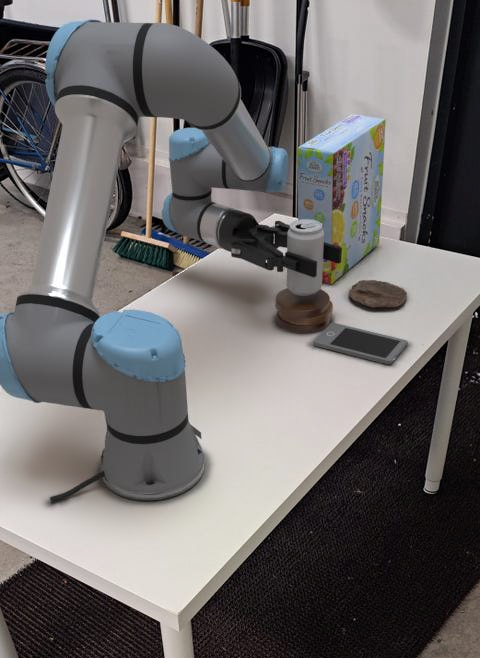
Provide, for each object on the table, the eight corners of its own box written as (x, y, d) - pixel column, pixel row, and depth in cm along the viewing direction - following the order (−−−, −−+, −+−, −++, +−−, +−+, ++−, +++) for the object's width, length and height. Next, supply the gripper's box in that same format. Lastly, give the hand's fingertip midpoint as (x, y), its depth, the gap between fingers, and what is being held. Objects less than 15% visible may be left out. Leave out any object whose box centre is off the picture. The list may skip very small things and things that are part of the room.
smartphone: (408, 344, 152) (409, 340, 151) (390, 365, 146) (391, 361, 146) (332, 325, 158) (332, 321, 157) (312, 345, 152) (312, 341, 152)
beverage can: (281, 285, 157) (282, 220, 149) (314, 279, 158) (316, 215, 150) (293, 300, 153) (294, 234, 145) (327, 294, 154) (330, 229, 146)
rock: (406, 287, 169) (408, 274, 168) (406, 313, 160) (407, 300, 159) (350, 283, 171) (351, 271, 169) (346, 309, 162) (347, 296, 160)
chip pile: (308, 339, 154) (308, 316, 151) (264, 322, 159) (264, 300, 156) (342, 318, 160) (344, 295, 157) (299, 302, 165) (300, 280, 162)
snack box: (344, 237, 187) (350, 111, 170) (380, 245, 183) (390, 118, 166) (294, 276, 174) (295, 144, 156) (331, 286, 170) (337, 151, 153)
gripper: (263, 232, 168) (359, 264, 156) (195, 266, 158) (292, 302, 146) (263, 194, 163) (362, 223, 151) (193, 226, 153) (293, 260, 141)
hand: (327, 262), depth 149 cm, fingers closed on beverage can, 6 cm apart
